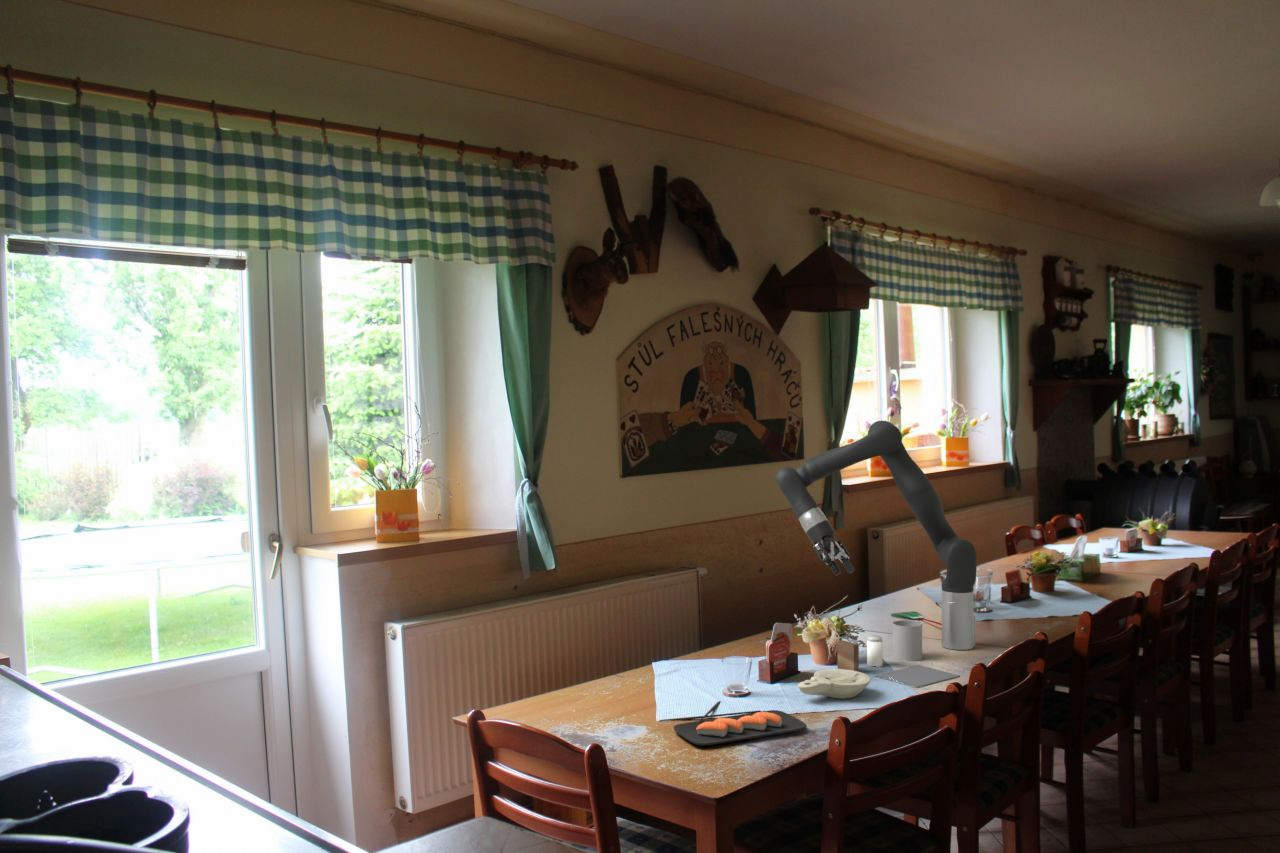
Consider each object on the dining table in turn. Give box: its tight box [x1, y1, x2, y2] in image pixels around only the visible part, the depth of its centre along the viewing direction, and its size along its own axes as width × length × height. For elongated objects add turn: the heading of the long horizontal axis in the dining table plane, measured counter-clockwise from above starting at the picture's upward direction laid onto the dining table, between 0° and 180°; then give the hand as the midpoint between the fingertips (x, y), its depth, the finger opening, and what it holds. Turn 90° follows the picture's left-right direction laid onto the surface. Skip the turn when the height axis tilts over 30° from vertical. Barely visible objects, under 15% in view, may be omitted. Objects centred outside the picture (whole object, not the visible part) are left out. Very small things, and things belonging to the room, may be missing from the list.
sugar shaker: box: [866, 635, 884, 668], centre depth 281 cm, size 4×4×8 cm
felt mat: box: [874, 664, 961, 688], centre depth 269 cm, size 18×14×1 cm
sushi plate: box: [658, 700, 808, 746], centre depth 232 cm, size 29×30×4 cm
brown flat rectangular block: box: [836, 640, 860, 672], centre depth 275 cm, size 2×6×8 cm, turn 35°
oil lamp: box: [797, 668, 871, 700], centre depth 251 cm, size 21×14×5 cm
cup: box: [892, 619, 923, 662], centre depth 289 cm, size 8×8×10 cm
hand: (845, 573), depth 288 cm, fingers open, 8 cm apart
